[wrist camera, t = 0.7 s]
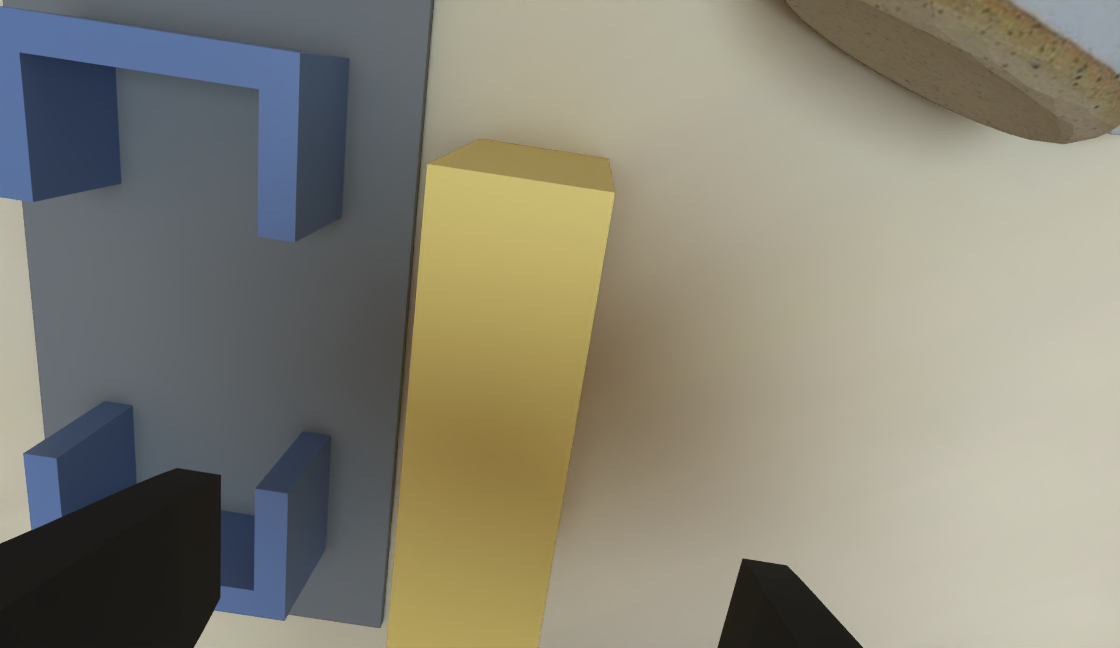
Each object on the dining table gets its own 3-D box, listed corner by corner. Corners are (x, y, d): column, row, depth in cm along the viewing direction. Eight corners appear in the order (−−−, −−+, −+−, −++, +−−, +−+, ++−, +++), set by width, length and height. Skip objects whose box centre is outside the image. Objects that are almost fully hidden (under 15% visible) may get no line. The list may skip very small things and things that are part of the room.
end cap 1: (79, 16, 17) (-26, 2, 14) (349, 58, 17) (299, 53, 14) (90, 178, 18) (-5, 195, 15) (341, 217, 18) (294, 242, 15)
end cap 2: (325, 549, 21) (284, 620, 18) (111, 516, 21) (37, 583, 18) (331, 435, 20) (287, 493, 17) (104, 400, 20) (23, 453, 17)
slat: (546, 532, 21) (529, 695, 16) (440, 516, 21) (384, 673, 16) (608, 158, 18) (615, 192, 12) (480, 138, 18) (427, 164, 12)
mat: (382, 621, 22) (380, 627, 22) (65, 573, 22) (58, 579, 22) (437, -50, 16) (435, -52, 16) (2, -118, 16) (-9, -122, 16)
